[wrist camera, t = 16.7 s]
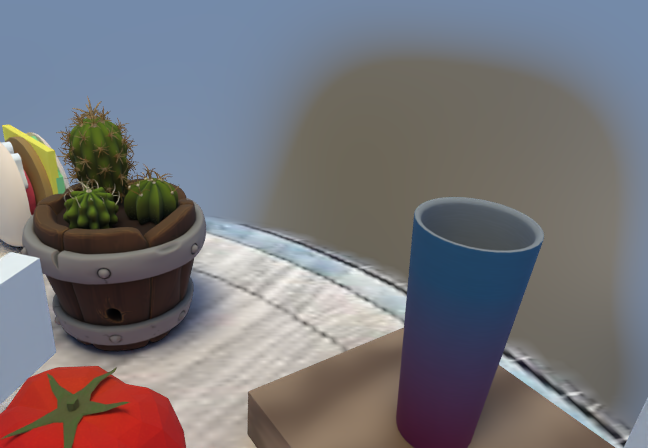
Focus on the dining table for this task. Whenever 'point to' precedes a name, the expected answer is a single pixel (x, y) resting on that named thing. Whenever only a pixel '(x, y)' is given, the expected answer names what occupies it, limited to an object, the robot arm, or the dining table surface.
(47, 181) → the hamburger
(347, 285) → the dining table surface
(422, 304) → the cup
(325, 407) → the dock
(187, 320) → the dining table surface
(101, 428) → the tomato
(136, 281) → the flowerpot
